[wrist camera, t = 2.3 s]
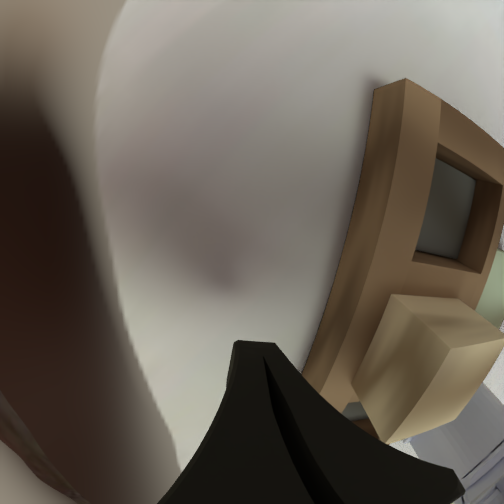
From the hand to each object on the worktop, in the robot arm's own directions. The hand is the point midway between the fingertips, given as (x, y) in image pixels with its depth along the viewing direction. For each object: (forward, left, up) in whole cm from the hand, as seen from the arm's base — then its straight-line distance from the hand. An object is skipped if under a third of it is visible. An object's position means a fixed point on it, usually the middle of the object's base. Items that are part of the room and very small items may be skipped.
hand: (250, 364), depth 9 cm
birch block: (0, -8, -1) cm, 8 cm away
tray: (0, -11, -4) cm, 12 cm away
